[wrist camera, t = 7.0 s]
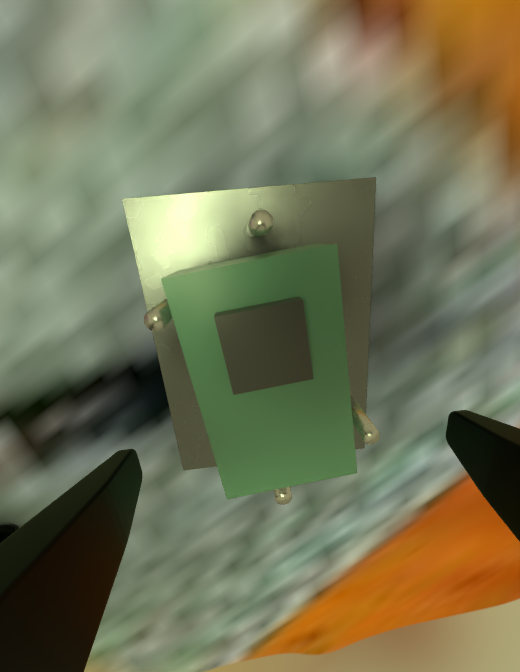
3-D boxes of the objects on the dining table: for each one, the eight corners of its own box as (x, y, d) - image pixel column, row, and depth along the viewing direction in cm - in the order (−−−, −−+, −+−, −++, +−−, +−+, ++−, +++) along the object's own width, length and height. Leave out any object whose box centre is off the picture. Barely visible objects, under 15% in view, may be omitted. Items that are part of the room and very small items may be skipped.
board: (335, 430, 15) (362, 484, 12) (229, 451, 15) (226, 511, 12) (314, 243, 12) (343, 243, 9) (179, 270, 12) (155, 281, 9)
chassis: (358, 438, 19) (401, 509, 14) (186, 458, 19) (166, 540, 14) (367, 181, 14) (440, 146, 9) (130, 202, 14) (63, 177, 9)
